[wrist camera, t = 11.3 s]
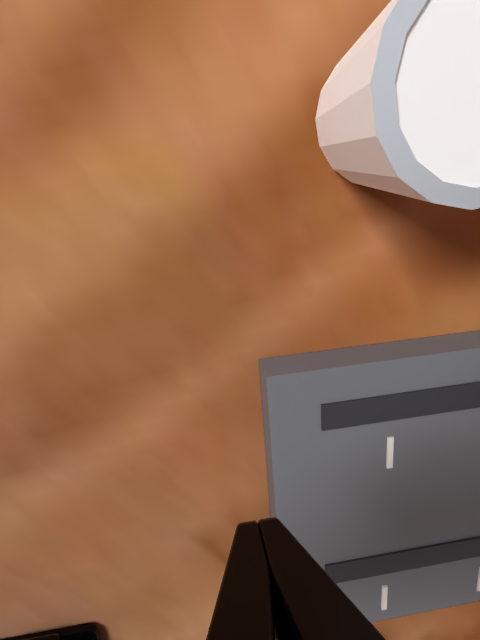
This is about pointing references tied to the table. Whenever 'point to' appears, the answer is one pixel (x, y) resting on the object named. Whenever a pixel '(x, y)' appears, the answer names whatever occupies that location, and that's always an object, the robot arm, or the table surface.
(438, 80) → the white cup
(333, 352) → the console
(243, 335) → the table surface
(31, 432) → the table surface
